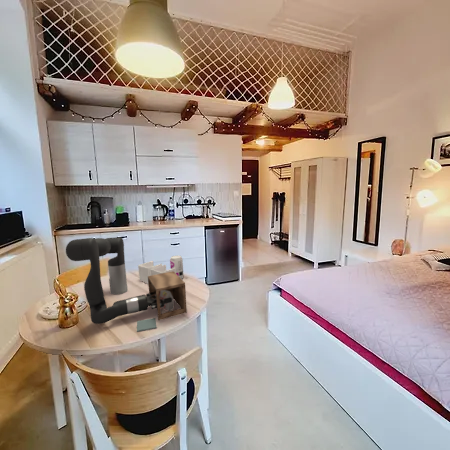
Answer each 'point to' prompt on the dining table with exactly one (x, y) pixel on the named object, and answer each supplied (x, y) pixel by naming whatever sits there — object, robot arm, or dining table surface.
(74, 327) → the dining table surface
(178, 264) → the supplement can
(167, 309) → the tea bag
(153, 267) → the storage container
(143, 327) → the mat
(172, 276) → the hutch
